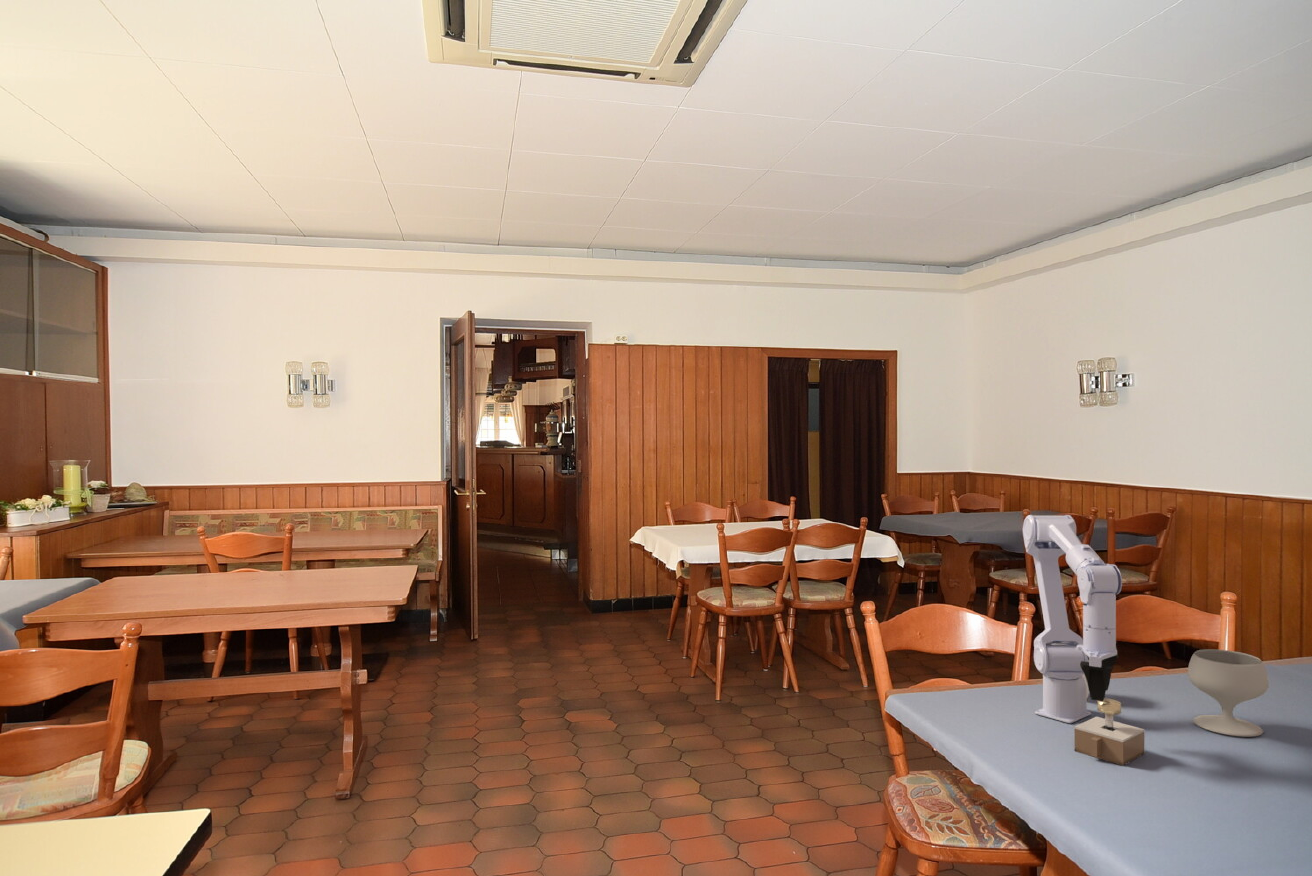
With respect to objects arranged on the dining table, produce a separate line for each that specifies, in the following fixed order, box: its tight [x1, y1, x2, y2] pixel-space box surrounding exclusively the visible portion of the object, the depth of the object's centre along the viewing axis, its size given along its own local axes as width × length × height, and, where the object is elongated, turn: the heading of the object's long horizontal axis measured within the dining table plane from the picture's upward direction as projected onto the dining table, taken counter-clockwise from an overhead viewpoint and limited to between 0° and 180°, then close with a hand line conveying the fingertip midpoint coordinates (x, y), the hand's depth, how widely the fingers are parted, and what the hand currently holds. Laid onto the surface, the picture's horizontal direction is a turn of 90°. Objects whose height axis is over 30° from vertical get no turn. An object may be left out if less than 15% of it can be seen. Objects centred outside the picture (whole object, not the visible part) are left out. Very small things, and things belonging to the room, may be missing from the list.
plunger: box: [1097, 697, 1122, 731], centre depth 160 cm, size 4×4×6 cm
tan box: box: [1074, 716, 1145, 766], centre depth 159 cm, size 11×9×5 cm
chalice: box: [1187, 648, 1270, 738], centre depth 172 cm, size 14×14×15 cm
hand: (1099, 694), depth 162 cm, fingers open, 7 cm apart
